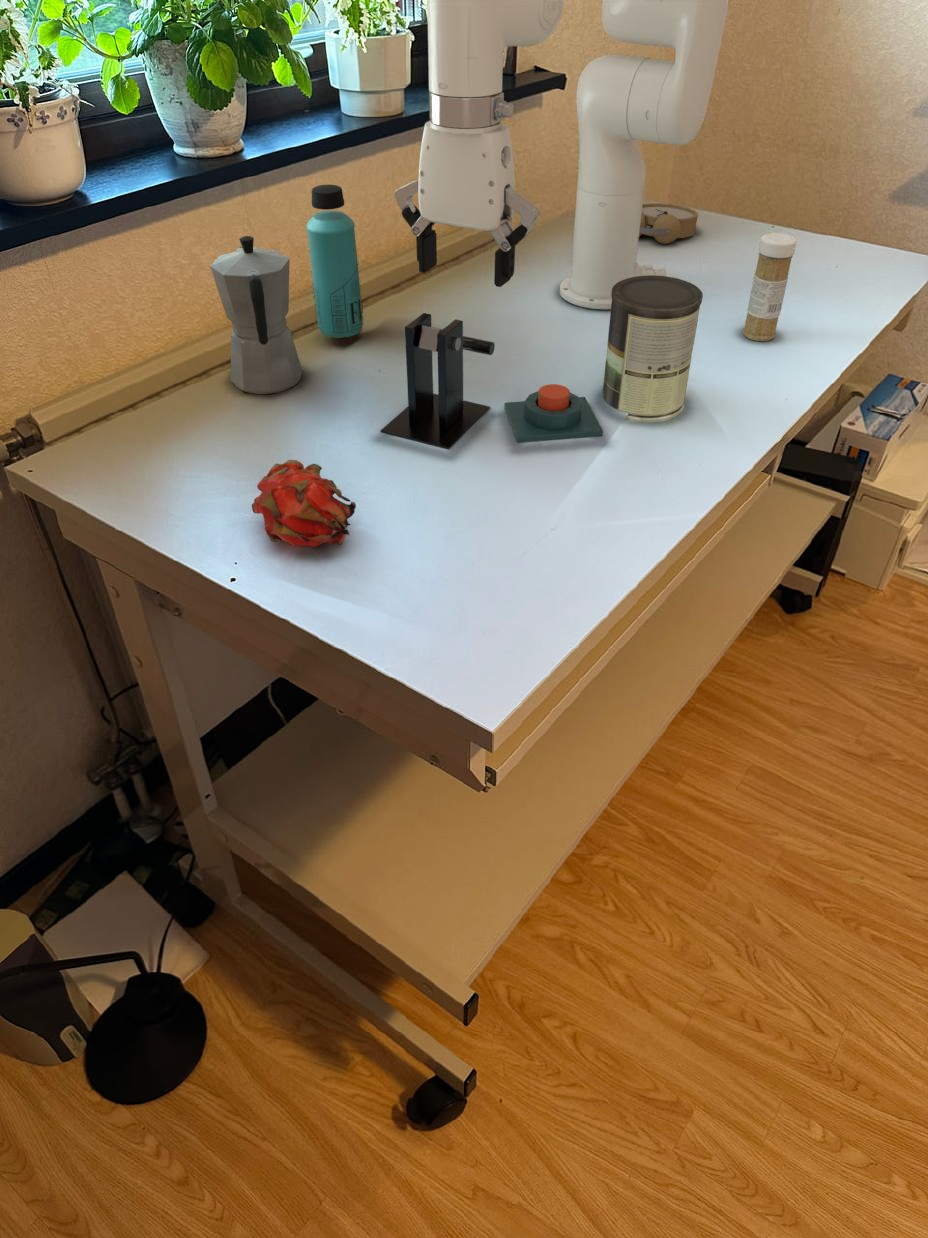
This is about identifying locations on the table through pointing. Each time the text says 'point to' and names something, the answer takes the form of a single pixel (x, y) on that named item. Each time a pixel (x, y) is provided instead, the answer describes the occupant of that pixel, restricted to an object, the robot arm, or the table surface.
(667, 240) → the alarm clock
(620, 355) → the coffee can
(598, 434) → the button box
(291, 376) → the coffeepot
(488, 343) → the lever
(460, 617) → the table surface
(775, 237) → the sprinkles bottle
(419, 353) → the bracket
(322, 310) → the beverage bottle
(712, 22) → the robot arm
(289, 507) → the dragon fruit
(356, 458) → the table surface
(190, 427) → the table surface
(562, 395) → the button
